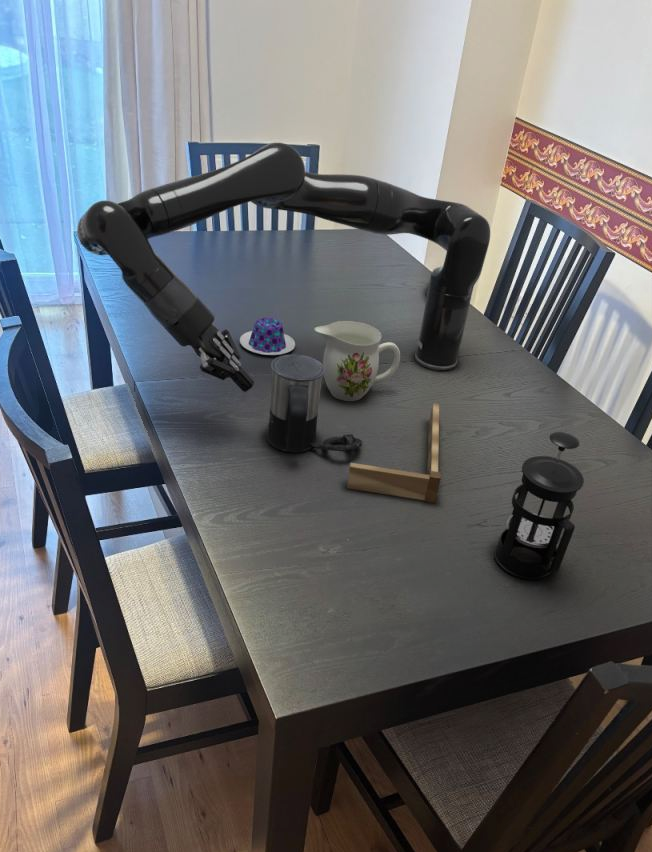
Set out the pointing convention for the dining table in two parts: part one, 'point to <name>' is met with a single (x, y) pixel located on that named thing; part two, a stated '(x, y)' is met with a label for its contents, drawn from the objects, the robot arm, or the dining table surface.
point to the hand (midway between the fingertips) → (249, 387)
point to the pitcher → (353, 358)
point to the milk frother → (299, 406)
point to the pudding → (267, 338)
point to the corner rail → (403, 473)
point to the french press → (535, 530)
